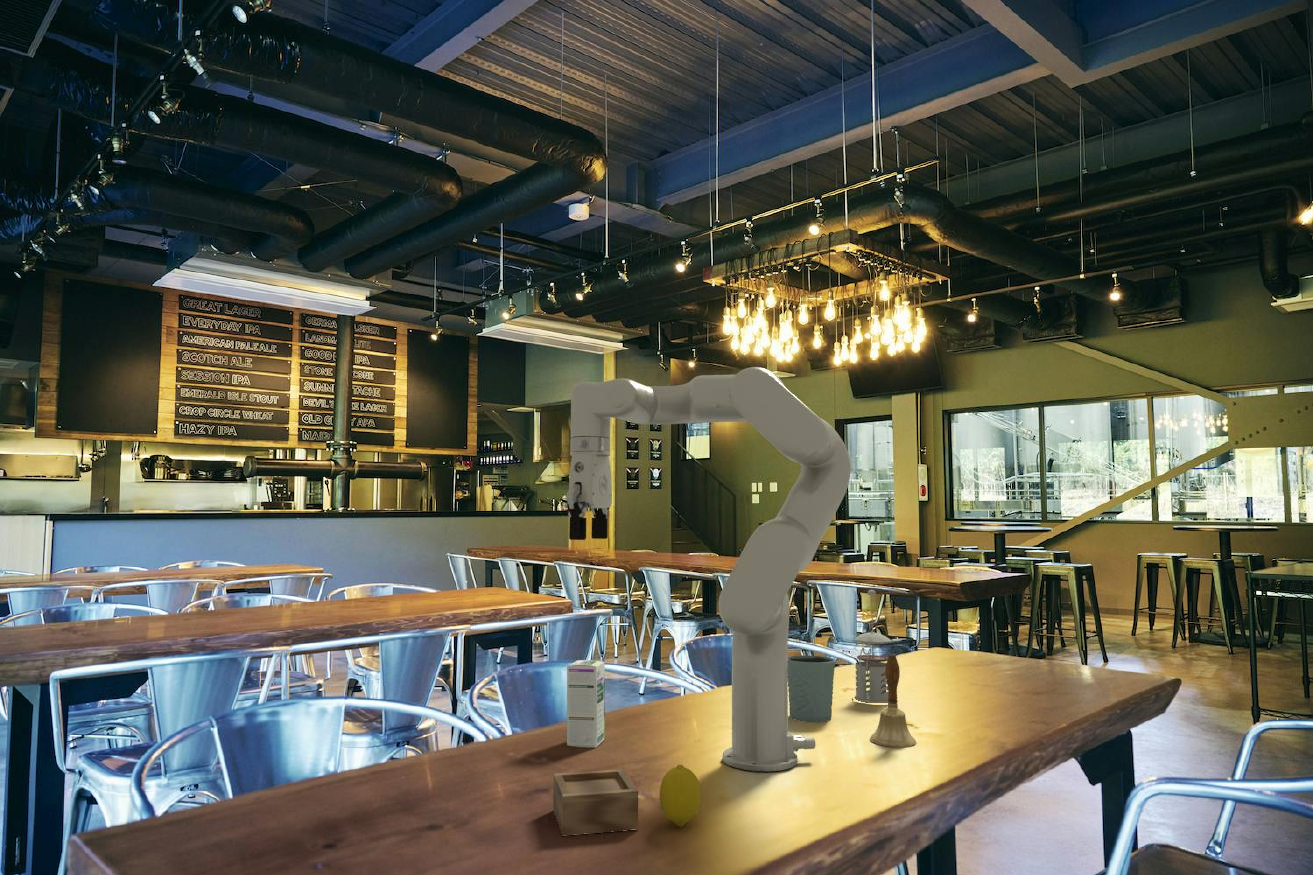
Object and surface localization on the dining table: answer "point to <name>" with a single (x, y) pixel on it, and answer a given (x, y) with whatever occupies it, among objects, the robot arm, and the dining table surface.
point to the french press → (871, 668)
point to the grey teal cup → (810, 687)
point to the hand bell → (892, 713)
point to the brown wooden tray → (595, 802)
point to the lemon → (680, 795)
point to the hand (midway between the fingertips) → (588, 539)
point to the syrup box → (586, 703)
